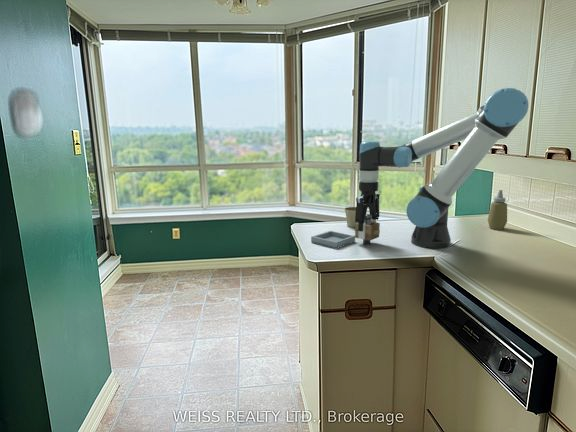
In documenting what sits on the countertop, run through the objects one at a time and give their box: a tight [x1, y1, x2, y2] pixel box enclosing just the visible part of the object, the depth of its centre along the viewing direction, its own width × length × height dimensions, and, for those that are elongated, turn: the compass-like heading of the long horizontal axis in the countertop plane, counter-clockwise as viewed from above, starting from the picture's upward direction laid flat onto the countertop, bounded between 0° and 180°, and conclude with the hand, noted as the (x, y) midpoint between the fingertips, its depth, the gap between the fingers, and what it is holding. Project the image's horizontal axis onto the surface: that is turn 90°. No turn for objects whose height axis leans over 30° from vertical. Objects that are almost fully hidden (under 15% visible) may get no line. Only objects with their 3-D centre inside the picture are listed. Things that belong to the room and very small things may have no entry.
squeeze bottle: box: [487, 189, 508, 231], centre depth 178 cm, size 8×8×18 cm
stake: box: [362, 213, 372, 245], centre depth 158 cm, size 3×3×12 cm
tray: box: [310, 230, 356, 249], centre depth 162 cm, size 13×13×2 cm
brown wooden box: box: [354, 221, 381, 242], centre depth 157 cm, size 9×7×6 cm
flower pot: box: [343, 206, 357, 228], centre depth 187 cm, size 9×9×9 cm
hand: (367, 236), depth 159 cm, fingers closed on brown wooden box, 7 cm apart
